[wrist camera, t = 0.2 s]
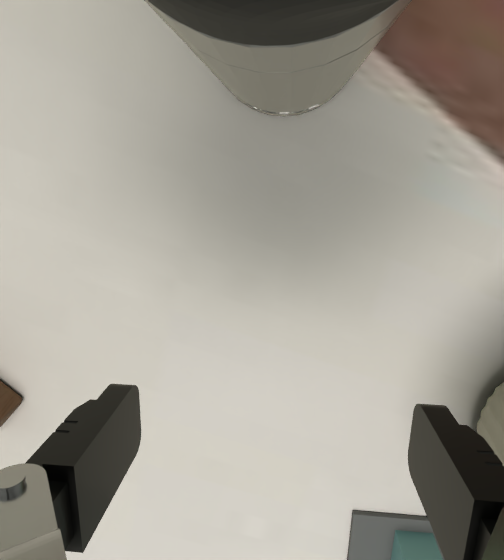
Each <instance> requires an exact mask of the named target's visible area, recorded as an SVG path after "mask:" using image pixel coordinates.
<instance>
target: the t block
mask: <svg viewBox="0 0 504 560" xmlns="http://www.w3.org/2000/svg"><path fill="white" fill-rule="evenodd" d="M391 560H443V559H442V556H441V553H440V551H439V548H438V545H437V543H436V540H435V538H434V535H433V533H423V532H411V531H400V530H395V536H394V542H393V549H392V555H391Z"/></svg>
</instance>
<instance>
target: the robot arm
mask: <svg viewBox="0 0 504 560" xmlns="http://www.w3.org/2000/svg"><path fill="white" fill-rule="evenodd" d="M145 1H146V2H147V3H148V5H149V6H150V7H151V8H152V9H153V10H154V11H155V12H156V13H157V14H158V15H159V16H160V17H161V18H162V19H163V21H164V22H165V23H166V24H167V25H168V26H169V27H170V28H171V29H172V30H173V31H174V32H175V33H176V34H177V35H178V36H179V37H180V38H181V39H182V40H183V41H184V42H185V43H186V45H187V46H188V47H189V48H190V49H191V50H192V51H193V52H194V53H195V54H196V55H197V56H198V57H199V58H200V60H201V61H202V62H203V63H204V64H205V65H206V66H207V67H208V68H209V69H210V70H211V71H212V72H213V73H214V74H215V76H216V77H217V78H218V79H219V80H220V81H221V82H222V83H223V84H224V85H225V86H226V87H227V88H228V89H229V90H230V91H231V92H232V93H233V94H234V95H235V96H236V97H237V98H238V99H239V100H240V101H241V102H243V103H244V104H246V105H247V106H249V107H250V108H252V109H254V110H257V111H260V112H262V113H265V114H269V115H277V116H291V115H299V114H302V113H305V112H308V111H311V110H314V109H316V108H317V107H319V106H321V105H322V104H324V103H326V102H327V101H329V100H330V99H331V98H332V97H333V96H334V95H335V94H336V93H338V92H339V91H340V90H341V89H342V87H343V86H344V85H345V84H346V82H347V81H348V80H349V79H350V78H351V77H352V75H353V74H354V73H355V72H356V70H357V69H358V68H359V67H360V65H361V64H362V63H363V62H364V60H365V59H366V58H367V57H368V55H369V54H370V53H371V51H372V50H373V49H374V48H375V46H376V45H377V44H378V43H379V41H380V40H381V39H382V38H383V36H384V35H385V34H386V33H387V31H388V30H389V29H390V27H391V26H392V25H393V24H394V22H395V21H396V20H397V19H398V17H399V16H400V15H401V14H402V12H403V11H404V10H405V8H406V7H407V6H408V5H409V3H410V2H411V1H412V0H145ZM140 440H141V421H140V403H139V390H138V387H137V386H136V385H122V384H110V385H109V386H108V387H107V388H106V389H105V391H104V392H103V393H102V394H101V395H100V396H99V398H98V399H97V400H89V401H87V402H86V403H84V404H82V405H81V406H79V407H77V408H76V409H74V410H73V411H72V413H71V414H70V415H69V416H68V417H67V418H66V419H65V420H64V423H61V425H60V426H59V427H58V428H57V429H56V432H53V433H52V434H51V436H50V437H49V438H48V439H47V440H46V441H45V442H44V443H43V444H42V445H41V446H40V448H39V449H38V450H37V451H36V452H35V453H34V454H33V455H32V456H31V457H30V459H29V460H28V461H27V462H26V463H25V464H17V465H13V466H9V467H6V468H3V469H1V470H0V560H67V559H66V554H65V551H71V552H81V553H83V552H84V550H85V548H86V546H87V544H88V542H89V541H90V539H91V537H92V535H93V533H94V531H95V530H96V528H97V526H98V524H99V522H100V520H101V519H102V517H103V515H104V513H105V511H106V509H107V508H108V506H109V504H110V502H111V500H112V498H113V496H114V495H115V493H116V491H117V489H118V487H119V485H120V484H121V482H122V480H123V478H124V476H125V474H126V473H127V471H128V469H129V467H130V465H131V463H132V462H133V460H134V458H135V456H136V454H137V452H138V449H139V445H140ZM408 465H409V471H410V475H411V478H412V480H413V483H414V485H415V487H416V490H417V492H418V495H419V497H420V500H421V502H422V505H423V507H424V510H425V512H426V515H427V517H428V520H429V522H430V525H431V527H432V529H433V532H434V534H435V537H436V539H437V542H438V544H439V547H440V549H441V552H442V554H443V557H444V559H445V560H504V466H503V463H502V462H501V460H500V459H499V458H498V456H497V455H496V454H494V451H493V450H492V448H491V447H490V446H489V444H488V443H487V441H486V440H485V439H484V438H483V437H482V436H481V435H479V434H478V433H477V432H475V431H474V430H473V429H471V428H470V427H469V426H467V425H459V424H458V422H457V421H456V419H455V418H454V417H453V415H452V414H451V412H450V411H449V409H448V408H447V407H446V406H444V405H428V404H417V405H416V406H415V408H414V412H413V420H412V427H411V435H410V442H409V450H408Z"/></svg>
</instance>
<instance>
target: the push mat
mask: <svg viewBox="0 0 504 560" xmlns="http://www.w3.org/2000/svg"><path fill="white" fill-rule="evenodd" d="M395 530H400V531H411V532H423V533H433V535H434V538H435V540H436V543H437V545H438V548H439V551H440V553H441V556H442V559H443V560H445V559H444V557H443V554H442V552H441V549H440V547H439V544H438V542H437V539H436V537H435V534H434V532H433V529H432V527H431V525H430V522H429V520H428V517H425V516H413V515H401V514H389V513H378V512H366V511H354V510H353V513H352V522H351V531H350V540H349V549H348V557H347V560H391V555H392V549H393V542H394V536H395Z"/></svg>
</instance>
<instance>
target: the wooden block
mask: <svg viewBox="0 0 504 560" xmlns="http://www.w3.org/2000/svg"><path fill="white" fill-rule="evenodd" d="M21 402H22V398H21V396H19V395H18V394H17V393H16V392H14V391H13V390H12V389H10V388H9V387H8V386H7V385H5V384H4V383H3V382H2V381H0V427H1V426H2V425H3V423H4V422H5V421H6V420H7V419H8V418H9V417H10V415H11V414H12V413H13V412H14V411H15V410H16V409H17V407H18V406H19V405H20V404H21Z"/></svg>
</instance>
